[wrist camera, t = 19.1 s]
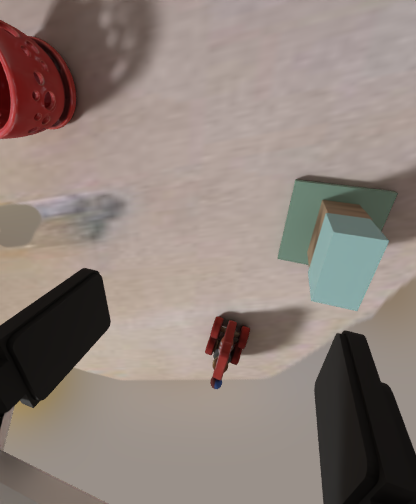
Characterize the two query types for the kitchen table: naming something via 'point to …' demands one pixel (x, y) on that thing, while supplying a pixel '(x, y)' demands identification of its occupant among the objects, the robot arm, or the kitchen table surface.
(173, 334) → the kitchen table surface
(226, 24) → the kitchen table surface
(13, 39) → the plant pot
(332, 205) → the walnut brick
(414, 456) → the robot arm
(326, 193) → the board
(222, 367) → the toy fire truck
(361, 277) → the teal brick
